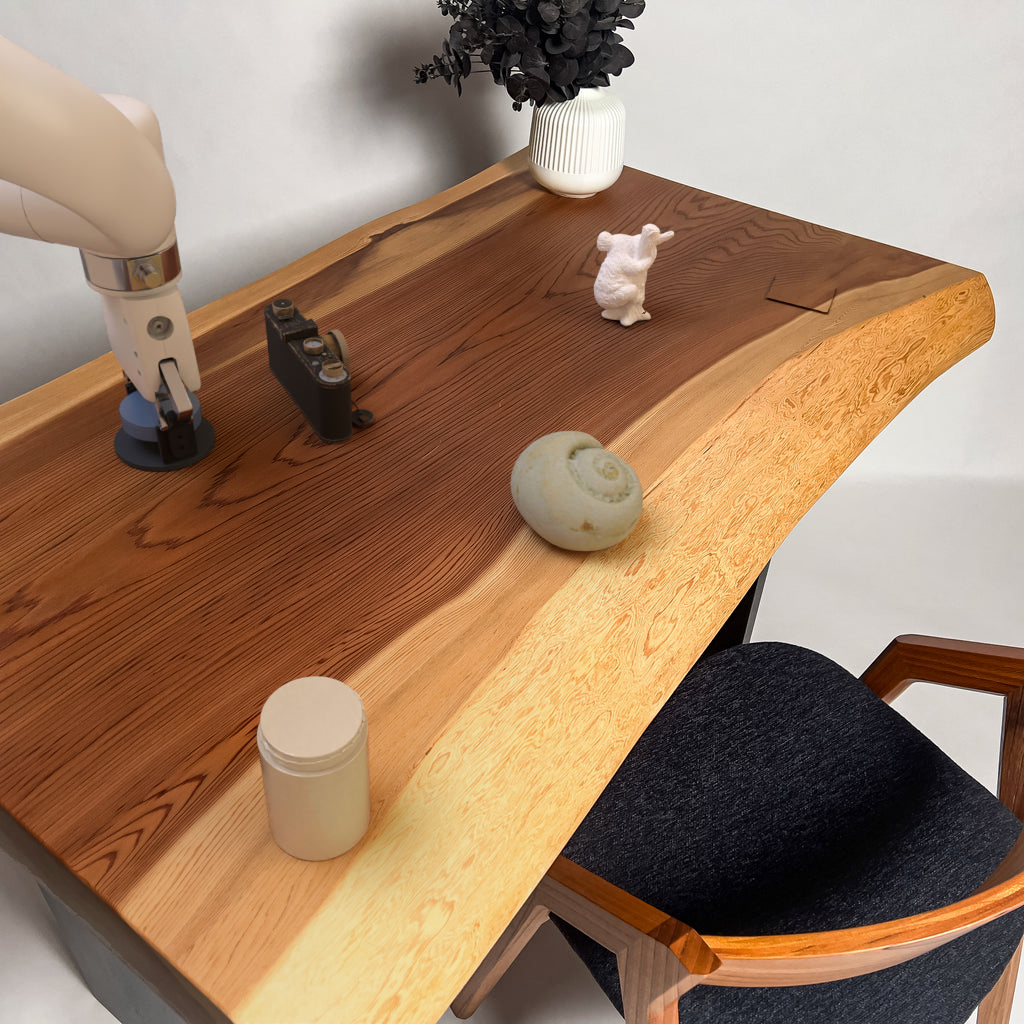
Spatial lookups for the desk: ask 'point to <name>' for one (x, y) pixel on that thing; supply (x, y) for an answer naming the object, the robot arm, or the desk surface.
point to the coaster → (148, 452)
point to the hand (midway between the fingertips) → (164, 435)
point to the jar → (315, 767)
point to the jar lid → (150, 414)
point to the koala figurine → (626, 272)
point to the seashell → (576, 492)
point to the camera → (313, 371)
